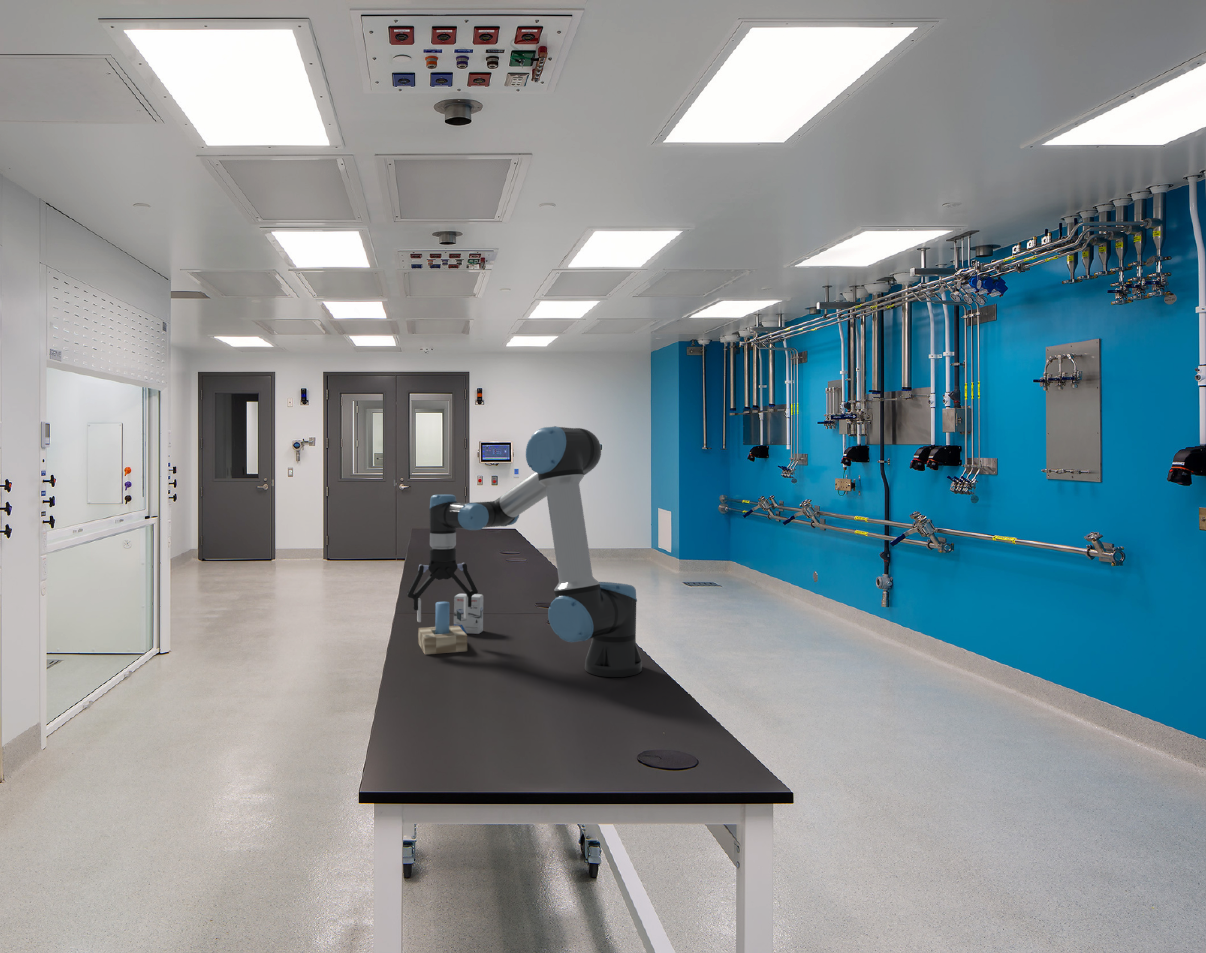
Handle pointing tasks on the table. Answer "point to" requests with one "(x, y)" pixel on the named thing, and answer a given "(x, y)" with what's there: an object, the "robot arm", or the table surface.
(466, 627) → the ink box
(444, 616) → the peg
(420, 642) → the socket block
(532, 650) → the table surface
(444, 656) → the table surface
